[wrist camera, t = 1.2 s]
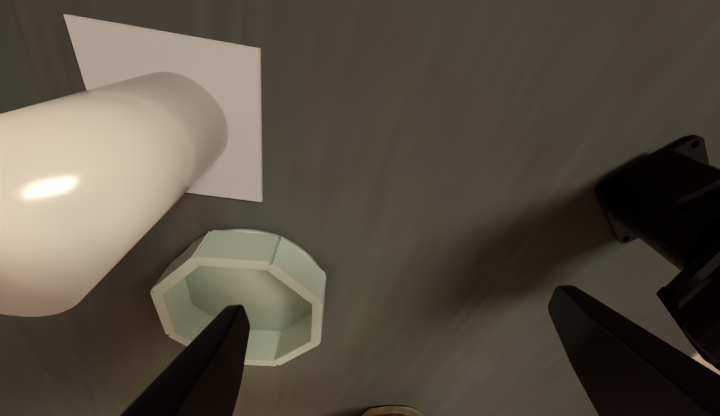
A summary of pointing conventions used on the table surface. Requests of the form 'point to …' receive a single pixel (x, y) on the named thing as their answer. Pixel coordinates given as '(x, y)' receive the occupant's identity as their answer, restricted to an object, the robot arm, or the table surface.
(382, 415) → the ceramic jug
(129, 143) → the white cylinder
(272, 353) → the bowl
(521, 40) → the table surface
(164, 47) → the mat
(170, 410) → the robot arm
